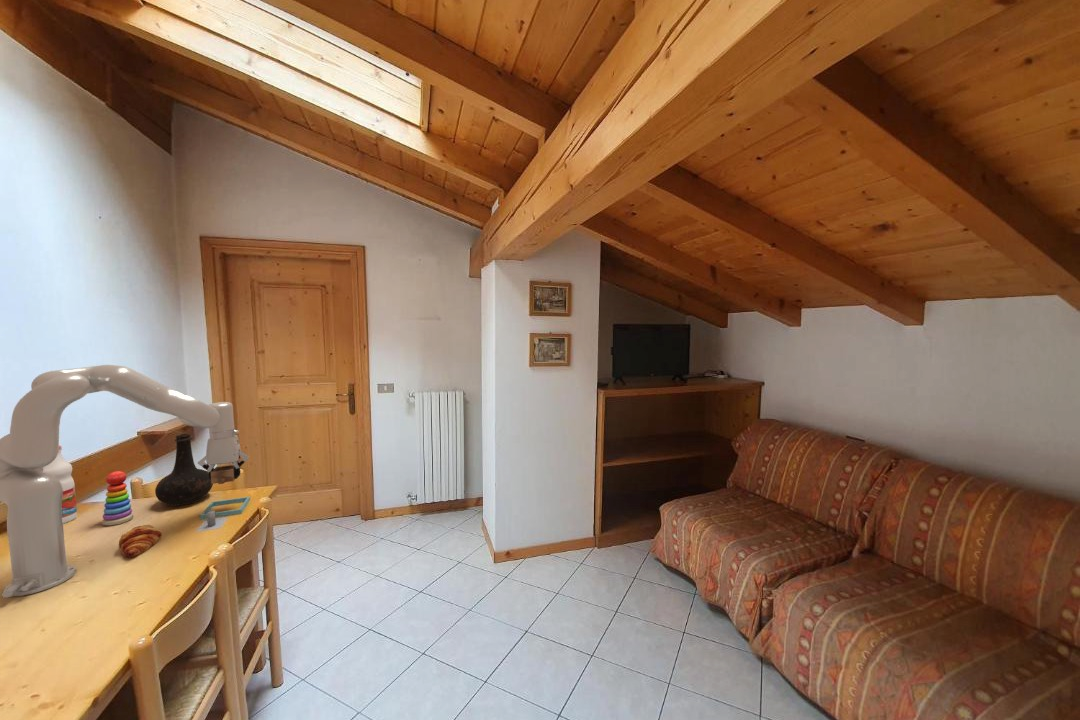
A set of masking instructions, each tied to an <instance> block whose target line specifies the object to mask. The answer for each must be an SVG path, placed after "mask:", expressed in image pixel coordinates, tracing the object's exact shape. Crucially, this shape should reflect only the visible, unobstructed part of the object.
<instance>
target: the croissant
mask: <svg viewBox="0 0 1080 720" xmlns="http://www.w3.org/2000/svg"><path fill="white" fill-rule="evenodd" d="M162 535H163V532H162V531H161V530H160V529H158V528H156V527H155V526H153V525H150V524H144V525H138V526H136V527H133V528H131V529H130V530H129V531H126V532H125V533H122V534H121V536H120V538H119V541H118V548H119V550H120V552H121V554H122V555H123V556H124V557H126V558H134V557H136V556H138V555H140V554H142V553H145V552H147V551H148V550H149V549H151V547H153V546H155V544H156V543H157V542H158V541H159V540H161V537H162Z"/></svg>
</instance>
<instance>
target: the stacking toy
mask: <svg viewBox="0 0 1080 720" xmlns="http://www.w3.org/2000/svg"><path fill="white" fill-rule="evenodd" d="M105 480H106V483H107V484H108V486H107V487H106V491H107V492H106V493H105V496H106V497H105V503H104V509H103V514H102V521H101V523H102V525H103V526H116V525H122V524H123V523H126V522H128V521H131V520H132V519H133V518H134V513H132V512H133V508H132V504H131V500H130V498H129V497H130V494H129V493H128V491H129V490H128V488H127V487H128V486H127V483H125V481H126V480H127V474H126V472H123V471H120V470H117V471H112V472H110V473H109V474H108V475H107V476H106V479H105Z"/></svg>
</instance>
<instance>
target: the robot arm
mask: <svg viewBox="0 0 1080 720" xmlns="http://www.w3.org/2000/svg"><path fill="white" fill-rule="evenodd" d="M30 386H31V388H30V389H31V390H29V391H28V392H26V393H25V395H24V396H22V397H21V398H20V399H19V400H18V402H17V403H16V404H15V406H14V408H13V412H12V415H11V421H10V428H9V433H8V434H6V435H4V436H2V437H1V438H0V502H1V503H4V504H5V505H6V507H7V516H6V532H7V537H8V546H9V547H8V548H9V557H10V565H11V574H12V579H11V582H10V583H9V584H8V585H6V586H5V588H4V589H3V592H2V593H1V595H2V597H3V598H10V597H22V596H28V595H32V594H35V593H40V592H42V591H45V590H47V589H52V588H54V587H55V586H58V585H60V584H62V583H64V582H66V581H68V580H70V578H72V577H73V576H74V575H75V574H76V571H77V570H76V567H75V566H74V565H71V564H67V555H66V554H67V553H66V543H65V541H66V540H65V532H64V531H65V530H64V523H62V496H63V488H62V485H61V483H60V481H59V480H58V479H57V478H55V477H54V476H52V475H50V474H47V473H44V472H43V467H44V466H47V465H48V464H50V463H51V462H53V461H54V460H55V458H56V457H57V455H58V452H59V446H60V443H59V442H60V425H61V417H62V415H63V412H64V411H65V409H66V408H68V407H69V406H70V405H71V404H73V403H74V402H77V401H78V400H81V399H82V398H84V397H85V396H87V394H93V393H99V392H109V393H111V394H114V395H116V396H118V397H121V398H123V399H126V400H129V401H131V402H133V403H134V404H137V405H139V406H141V407H144V408H146V409H148V410H152V411H155V412H159V413H163V414H167V415H171V416H174V417H177V418H178V420H179V422H181V423H182V424H184V425H186V426H189V427H196V428H201V429H208V430H209V431H208V433H209V438H208V439H207V442H206V443H207V444H206V450H205V454H206V455H205V456H203V458H201V459H200V460H199V461H198V462H197V464H198V465H199V466H200V467H202V468H203V470H205V471H208V472H209V479H211V472H212V471H213V470H214V469H215V467H216V465H225V464H226V465H227V464H231V465H234V466H235V469H234V475H235V480H237V479H238V478H239V477H240V476H241V467H242V466H243V464H244V463H246V462H247V460H248V459H249V458H250V455H248V454H246V453H244V452H242V451H241V450H242V449H241V444H240V439H239V436H238V435H236V434H239V433H240V430H239V429H236V428H235V420H234V418H235V417H234V407H233V406H234V405H233V403H232V402H229V401H218V402H213V403H210V404H209V403H208V404H207V403H205V402H203V401H201V400H199V399H197V398H194V397H192V396H189V395H187V394H185V393H182V392H180V391H178V390H176V389H174V388H172V387H168V386H167V385H165V384H162V383H161V382H158V381H157V380H154V379H152V378H150V377H148V376H146V375H144V374H142V373H140V372H138V371H136V370H134V369H133V368H129V367H127V366H123V365H115V364H102V365H93V366H92V365H91V366H86V367H77V368H68V369H59V370H50V371H46V372H44V373H43V372H42V373H41V374H39V375H37V376H36V377H35V378H34V379H33V380H32V381H31V385H30ZM241 458H242V460H241V461H239V460H240V459H241Z"/></svg>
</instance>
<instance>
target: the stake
mask: <svg viewBox="0 0 1080 720" xmlns="http://www.w3.org/2000/svg"><path fill="white" fill-rule="evenodd" d="M215 513H216V511H215V510H211V511H209V512H207V519H204V521H203V522H202V524H201V525H200V526H199V527H198V528H197V530H195V532H196V533H197V532H205V531H211V530H217V529H221V528H222V527H223V525H224V524H225V523H226V521H227V520H228V518H229V516H223V517H216V518H215Z"/></svg>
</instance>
